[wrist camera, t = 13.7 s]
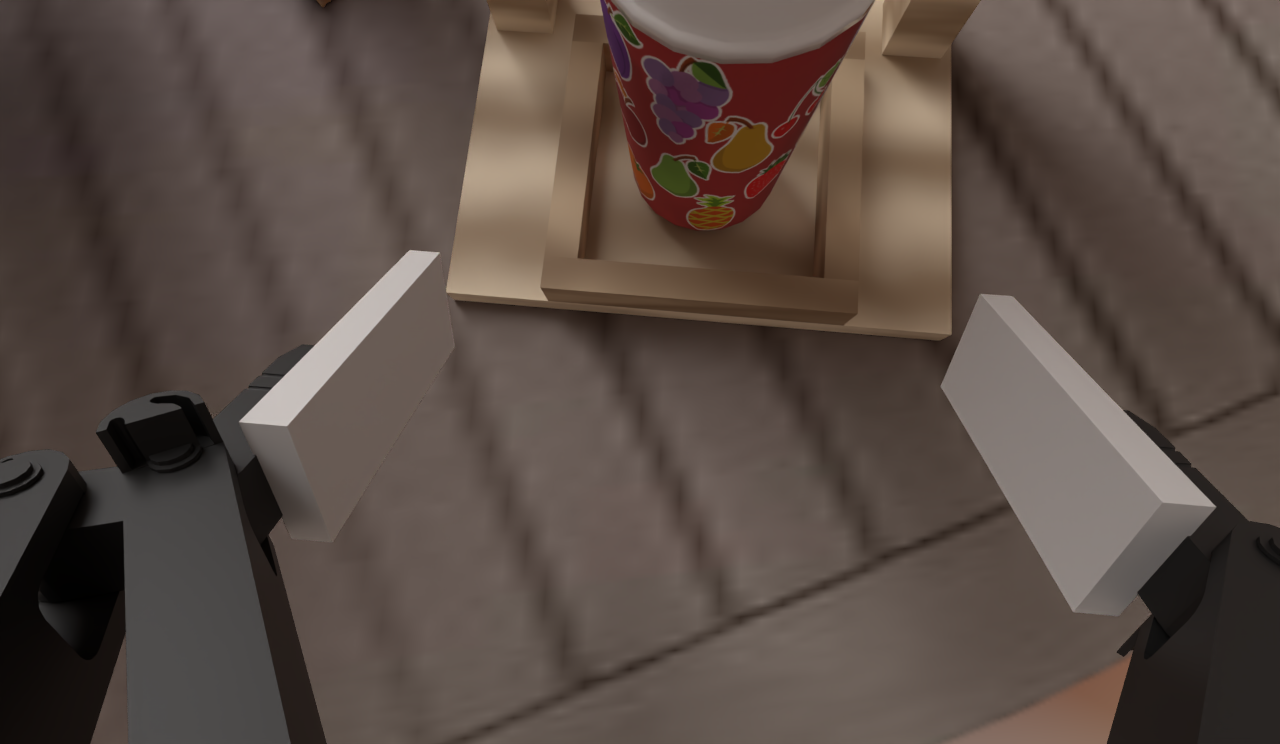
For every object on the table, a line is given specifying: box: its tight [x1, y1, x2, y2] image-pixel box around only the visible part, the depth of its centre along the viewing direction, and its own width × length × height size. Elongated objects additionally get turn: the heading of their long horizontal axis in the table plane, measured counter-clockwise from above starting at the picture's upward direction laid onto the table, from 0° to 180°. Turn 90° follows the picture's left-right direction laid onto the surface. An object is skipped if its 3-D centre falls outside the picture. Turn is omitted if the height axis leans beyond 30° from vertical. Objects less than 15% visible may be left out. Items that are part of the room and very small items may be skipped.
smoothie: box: [600, 0, 875, 231], centre depth 19 cm, size 8×8×20 cm
